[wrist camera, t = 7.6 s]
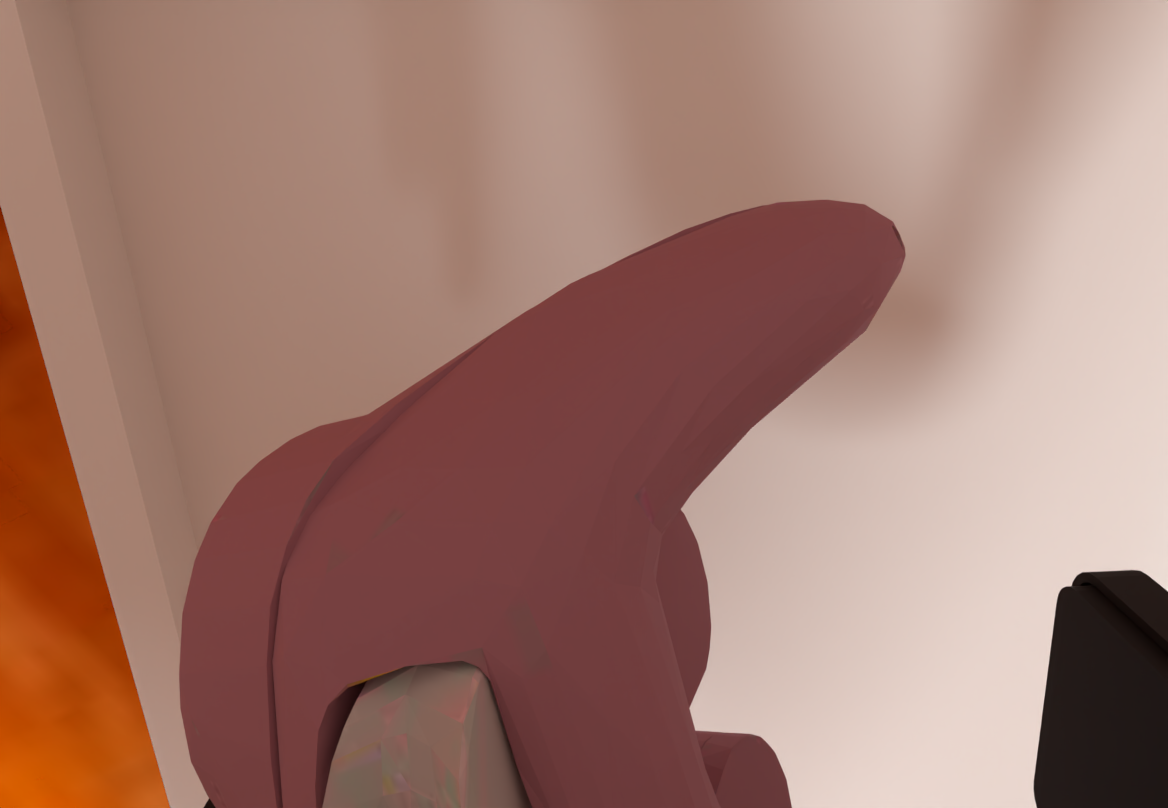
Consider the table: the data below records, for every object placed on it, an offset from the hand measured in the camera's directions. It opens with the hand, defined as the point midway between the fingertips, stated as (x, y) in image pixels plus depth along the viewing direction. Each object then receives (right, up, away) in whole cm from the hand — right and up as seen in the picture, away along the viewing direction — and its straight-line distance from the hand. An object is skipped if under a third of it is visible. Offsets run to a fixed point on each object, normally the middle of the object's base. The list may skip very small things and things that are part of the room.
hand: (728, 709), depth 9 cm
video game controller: (0, +1, +1) cm, 1 cm away
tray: (0, +2, +6) cm, 7 cm away
